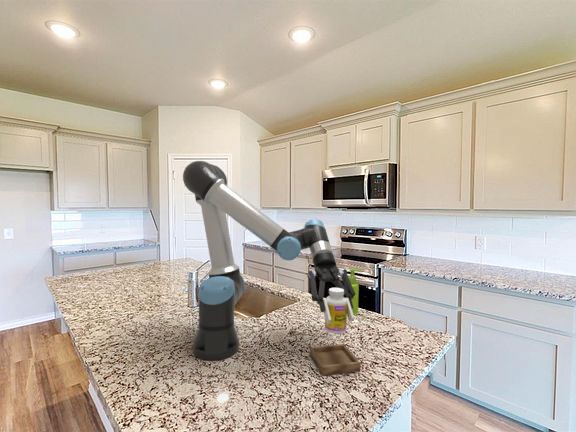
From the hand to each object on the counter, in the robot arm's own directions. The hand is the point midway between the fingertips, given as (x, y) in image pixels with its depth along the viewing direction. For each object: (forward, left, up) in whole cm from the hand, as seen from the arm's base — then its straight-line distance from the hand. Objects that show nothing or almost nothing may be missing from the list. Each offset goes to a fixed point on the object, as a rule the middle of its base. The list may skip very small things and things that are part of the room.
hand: (340, 320), depth 89 cm
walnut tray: (0, +4, -15) cm, 15 cm away
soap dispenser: (+25, +43, -15) cm, 51 cm away
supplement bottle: (0, +4, -5) cm, 6 cm away
